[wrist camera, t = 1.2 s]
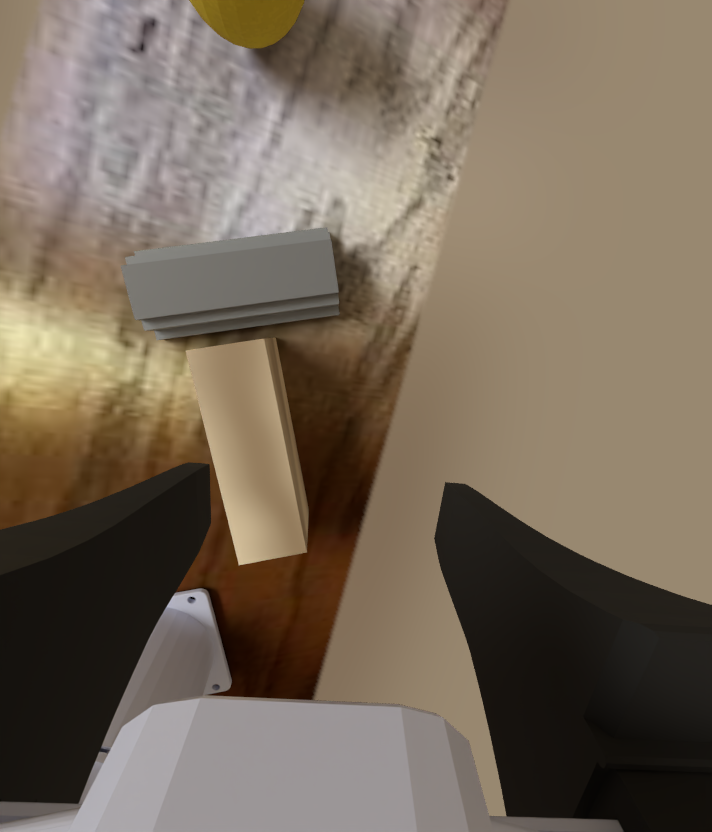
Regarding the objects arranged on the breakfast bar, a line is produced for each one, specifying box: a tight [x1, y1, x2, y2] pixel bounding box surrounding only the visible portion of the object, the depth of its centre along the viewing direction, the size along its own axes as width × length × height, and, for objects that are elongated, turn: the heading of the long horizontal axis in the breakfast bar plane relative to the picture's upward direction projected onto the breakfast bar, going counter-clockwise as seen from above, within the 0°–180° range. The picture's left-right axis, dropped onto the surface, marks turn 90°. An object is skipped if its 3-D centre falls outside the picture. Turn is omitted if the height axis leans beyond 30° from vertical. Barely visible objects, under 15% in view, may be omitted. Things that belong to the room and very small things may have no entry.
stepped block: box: [121, 228, 340, 340], centre depth 20 cm, size 10×4×3 cm, turn 98°
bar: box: [186, 337, 309, 565], centre depth 21 cm, size 4×11×5 cm, turn 8°
